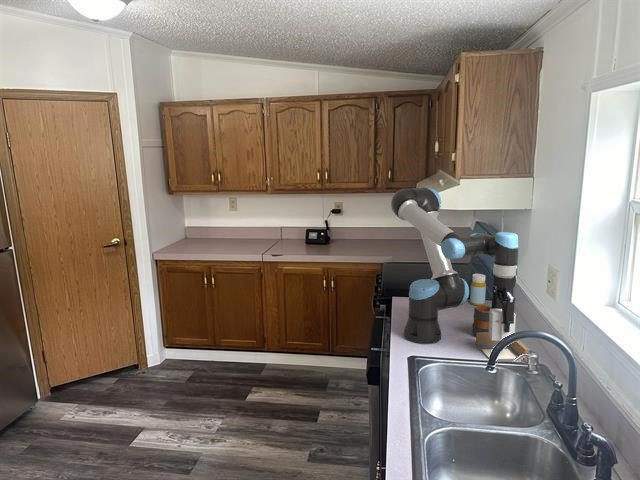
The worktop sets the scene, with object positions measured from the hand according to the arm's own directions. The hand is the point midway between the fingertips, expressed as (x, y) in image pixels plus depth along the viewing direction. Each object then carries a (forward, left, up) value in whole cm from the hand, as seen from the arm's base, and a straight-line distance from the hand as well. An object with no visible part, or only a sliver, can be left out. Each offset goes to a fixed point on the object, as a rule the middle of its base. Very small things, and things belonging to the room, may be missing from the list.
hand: (500, 336), depth 157 cm
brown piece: (+1, +2, -8) cm, 8 cm away
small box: (0, 0, -1) cm, 1 cm away
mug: (+2, +21, -8) cm, 22 cm away
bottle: (+14, +59, -8) cm, 61 cm away
